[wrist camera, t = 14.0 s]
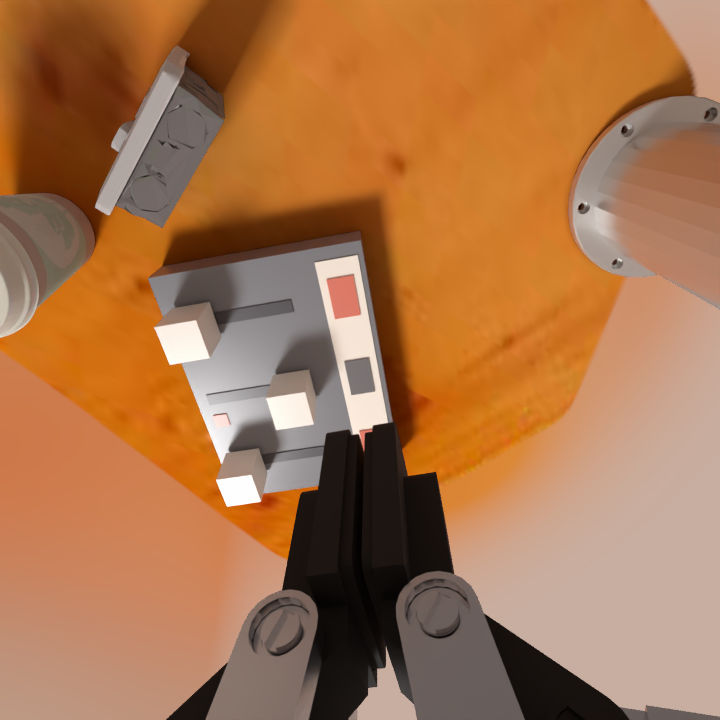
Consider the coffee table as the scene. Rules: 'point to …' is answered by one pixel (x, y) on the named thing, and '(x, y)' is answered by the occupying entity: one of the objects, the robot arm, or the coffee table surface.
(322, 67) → the coffee table surface
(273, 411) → the middle switch
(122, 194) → the electrical switch
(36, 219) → the coffee cup
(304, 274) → the switch unit
